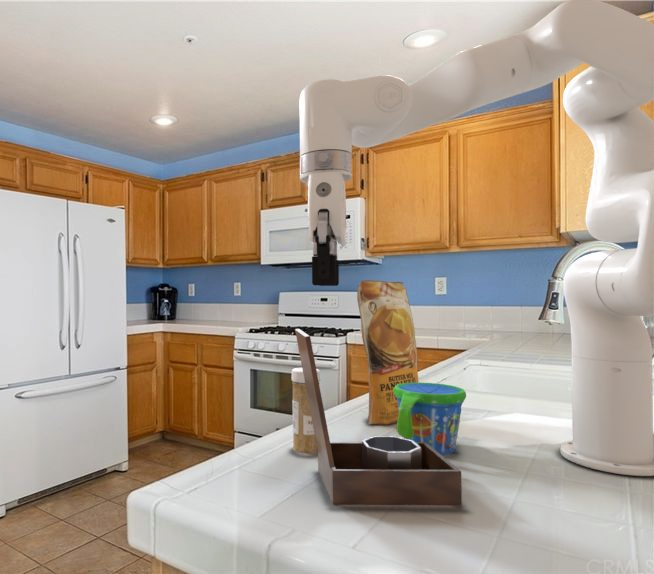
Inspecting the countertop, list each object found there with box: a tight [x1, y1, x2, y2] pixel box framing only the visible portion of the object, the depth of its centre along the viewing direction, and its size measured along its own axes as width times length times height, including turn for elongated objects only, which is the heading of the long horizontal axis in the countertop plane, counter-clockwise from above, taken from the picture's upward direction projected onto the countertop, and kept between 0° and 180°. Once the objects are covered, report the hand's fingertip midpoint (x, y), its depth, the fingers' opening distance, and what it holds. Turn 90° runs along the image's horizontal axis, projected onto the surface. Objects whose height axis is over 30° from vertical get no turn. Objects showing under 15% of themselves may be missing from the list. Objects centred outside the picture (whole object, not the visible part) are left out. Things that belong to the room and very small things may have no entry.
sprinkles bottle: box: [291, 367, 321, 455], centre depth 79 cm, size 5×5×14 cm
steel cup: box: [361, 435, 421, 470], centre depth 64 cm, size 7×7×6 cm
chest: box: [317, 441, 463, 507], centre depth 64 cm, size 15×11×5 cm
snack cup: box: [394, 382, 467, 456], centre depth 80 cm, size 16×10×10 cm
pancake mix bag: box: [356, 279, 419, 425], centre depth 100 cm, size 7×19×28 cm, turn 125°
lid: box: [294, 328, 335, 468], centre depth 64 cm, size 16×11×1 cm
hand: (326, 285), depth 72 cm, fingers open, 9 cm apart
